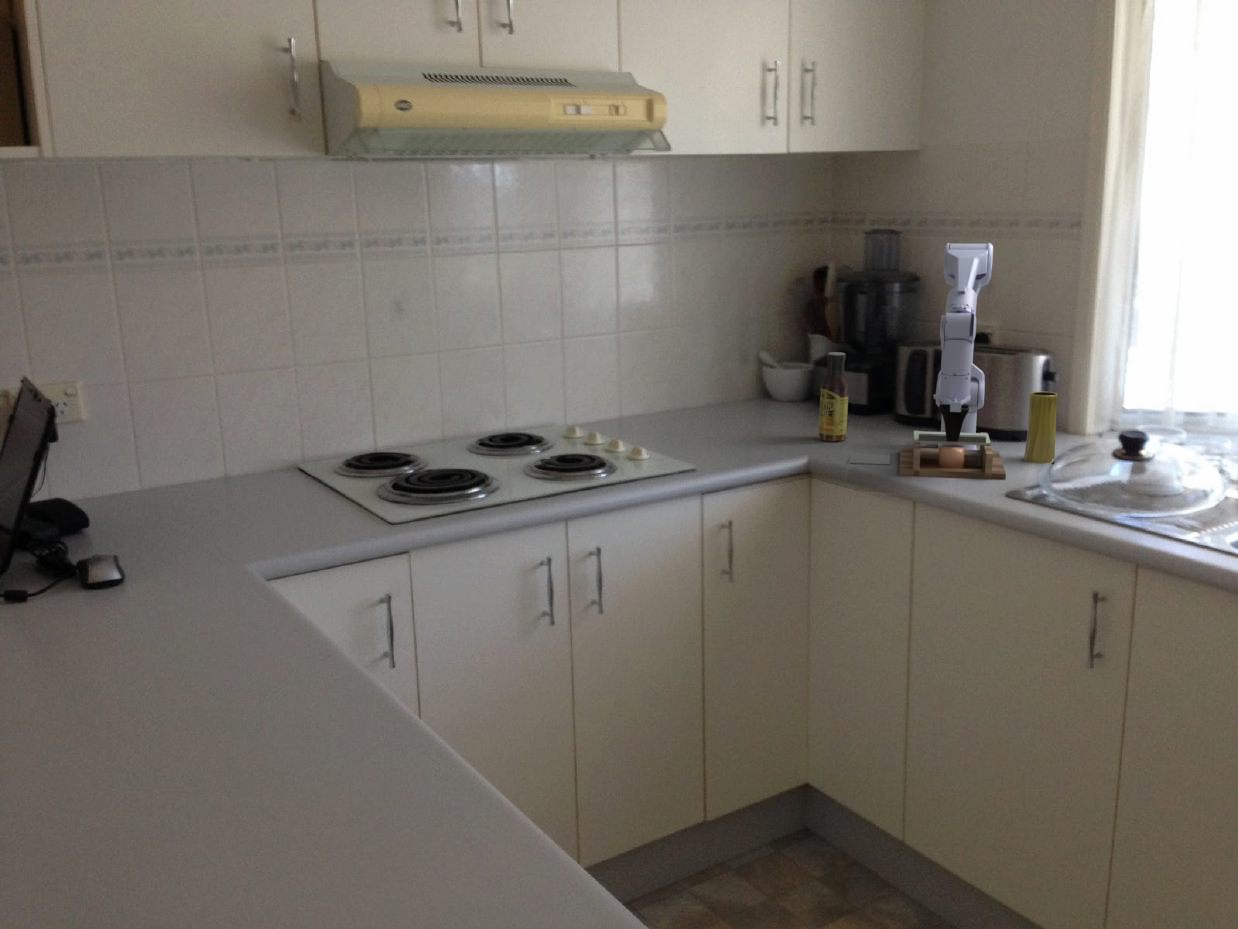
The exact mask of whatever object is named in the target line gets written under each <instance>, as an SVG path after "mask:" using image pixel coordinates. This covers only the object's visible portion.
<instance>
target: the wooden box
mask: <svg viewBox="0 0 1238 929" xmlns="http://www.w3.org/2000/svg"><path fill="white" fill-rule="evenodd" d="M914 431H919V430H913V432H914ZM980 433H983V432H980ZM912 438H913V440H912V445H913V446H912V447H907V446H906V447H904V446H903V447H900V448H899V449H900V450H899V451H900V452H899V473H898V474H899V476H907V477H908V476H909V477H912V476H913V477H934V478H955V479H956V478H960V479H961V478H962V479H985V480H1006V478H1007V473H1006V470H1005V467H1004V464H1003V460H1002V457H1001V455H1000V451H999V450H993V449H992V446H991V445H979V449H977V450H965V455H964V469H948V468H938V457H939V449H938V448H934V447H933V448H929V447H926V448H925V447H921V443H914V435H913V436H912Z"/></svg>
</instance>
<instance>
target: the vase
mask: <svg viewBox="0 0 1238 929" xmlns="http://www.w3.org/2000/svg"><path fill="white" fill-rule="evenodd" d="M1057 410H1058V393H1056V392H1053V391H1041V390H1040V391H1039V390H1038V391H1032V392H1030V394H1029V408H1028V419H1027V420H1028V421H1027V422H1028V423H1027V432H1026V433H1027V434H1026V443H1025V449H1024V455H1023V460H1024V461H1025V462H1028V463H1029V462H1030V463H1035V464H1051V463H1050V462H1051V461H1052V459H1054V458H1055V453H1056V452H1055V448H1056V447H1055V446H1056V431H1057V430H1056V429H1057Z"/></svg>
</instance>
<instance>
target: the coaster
mask: <svg viewBox="0 0 1238 929" xmlns="http://www.w3.org/2000/svg"><path fill="white" fill-rule="evenodd" d="M850 457H851V458H850V459H849V460H850V461H849V464H850V465H871V466H873V465H874V466H890V465H891V455H890V454H864V453H863V454H861V453H851V456H850Z"/></svg>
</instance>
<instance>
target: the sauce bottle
mask: <svg viewBox="0 0 1238 929" xmlns="http://www.w3.org/2000/svg"><path fill="white" fill-rule="evenodd" d="M826 356H827V357H826V360H827V369H826V373H825V376H824V379H823V382H822V384H821V387H820V397H819V398H820V399H819V413H818V414H819V416H818V417H819V418H818V437H819V439H820V440H821V441H825V442H830V443H831V442H834V443H835V442H843V441H845V440H846V437H847V436H846V434H847V429H848V428H847V426H848V425H847V424H848V411H849V410H848V409H849V408H848V406H849V389H850V388H849V386H850V385H849V381H848V380H847V377H846V375H845V361H846V360H847V357H846V356H847V355H846V353H845V352H840V351H839V352H837V351H834V352H832V351H831V352H828V353H827V355H826Z"/></svg>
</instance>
